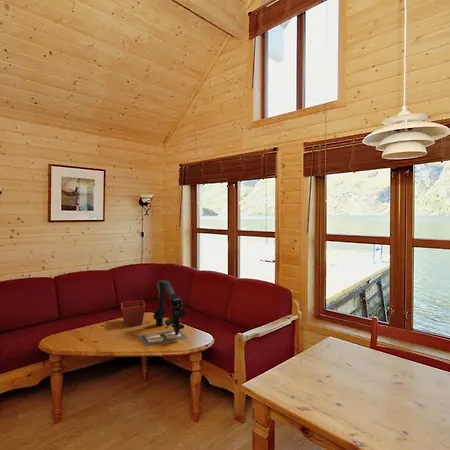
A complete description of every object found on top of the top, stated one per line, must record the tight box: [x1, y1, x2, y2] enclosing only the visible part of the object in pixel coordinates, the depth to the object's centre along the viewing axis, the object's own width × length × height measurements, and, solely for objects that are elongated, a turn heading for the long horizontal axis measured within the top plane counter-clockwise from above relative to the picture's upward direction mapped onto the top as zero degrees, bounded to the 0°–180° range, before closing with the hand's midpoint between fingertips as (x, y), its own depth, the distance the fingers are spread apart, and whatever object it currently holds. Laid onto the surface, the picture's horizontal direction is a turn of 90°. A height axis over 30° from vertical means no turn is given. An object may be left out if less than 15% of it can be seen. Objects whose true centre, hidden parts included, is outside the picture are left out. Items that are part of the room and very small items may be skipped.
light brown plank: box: [142, 327, 175, 339], centre depth 249 cm, size 6×25×2 cm, turn 117°
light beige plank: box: [146, 335, 163, 344], centre depth 238 cm, size 10×10×2 cm
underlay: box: [137, 329, 188, 348], centre depth 244 cm, size 22×32×1 cm
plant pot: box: [120, 299, 146, 327], centre depth 274 cm, size 19×19×17 cm
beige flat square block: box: [164, 332, 181, 340], centre depth 244 cm, size 10×10×2 cm
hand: (176, 335), depth 243 cm, fingers closed
